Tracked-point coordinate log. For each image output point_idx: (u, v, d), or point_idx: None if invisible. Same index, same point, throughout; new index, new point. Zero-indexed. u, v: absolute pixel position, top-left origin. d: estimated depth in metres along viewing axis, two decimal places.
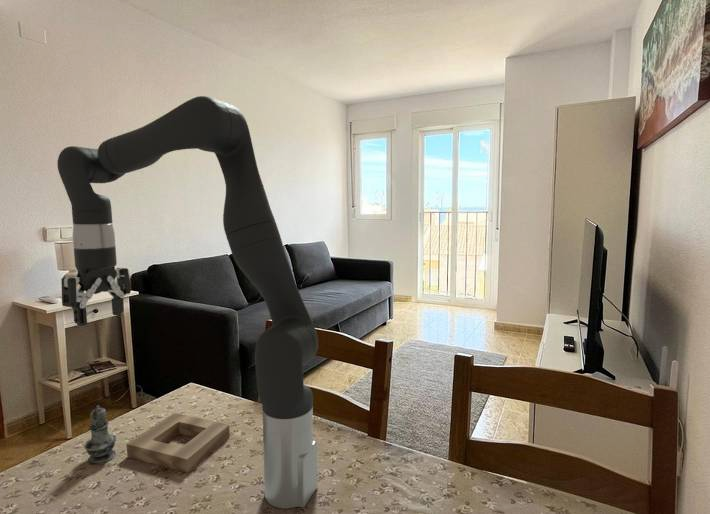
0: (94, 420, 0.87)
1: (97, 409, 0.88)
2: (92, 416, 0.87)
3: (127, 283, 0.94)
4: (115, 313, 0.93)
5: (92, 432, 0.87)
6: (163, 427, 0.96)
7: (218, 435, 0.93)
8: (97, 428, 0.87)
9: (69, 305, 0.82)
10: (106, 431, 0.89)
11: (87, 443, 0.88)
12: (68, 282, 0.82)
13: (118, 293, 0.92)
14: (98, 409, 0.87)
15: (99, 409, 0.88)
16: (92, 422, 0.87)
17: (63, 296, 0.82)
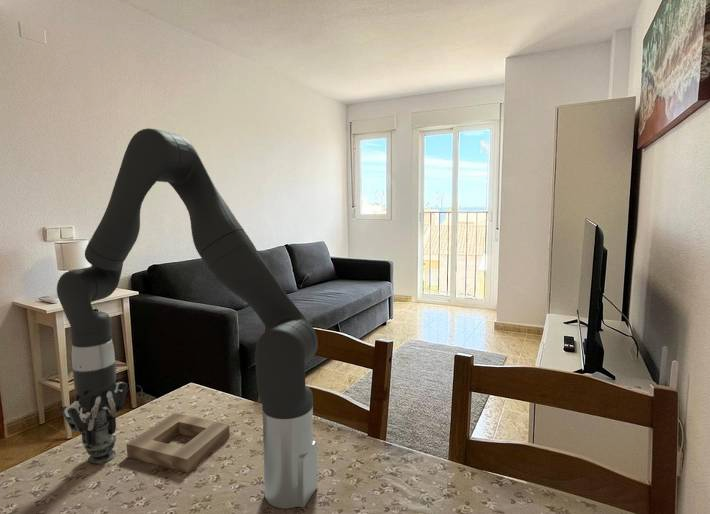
0: None
1: None
2: None
3: (123, 398, 0.92)
4: None
5: None
6: (163, 427, 0.96)
7: (218, 435, 0.93)
8: (97, 428, 0.87)
9: (78, 431, 0.83)
10: (106, 431, 0.89)
11: None
12: (69, 414, 0.81)
13: (110, 413, 0.90)
14: None
15: (99, 409, 0.88)
16: None
17: (69, 423, 0.83)
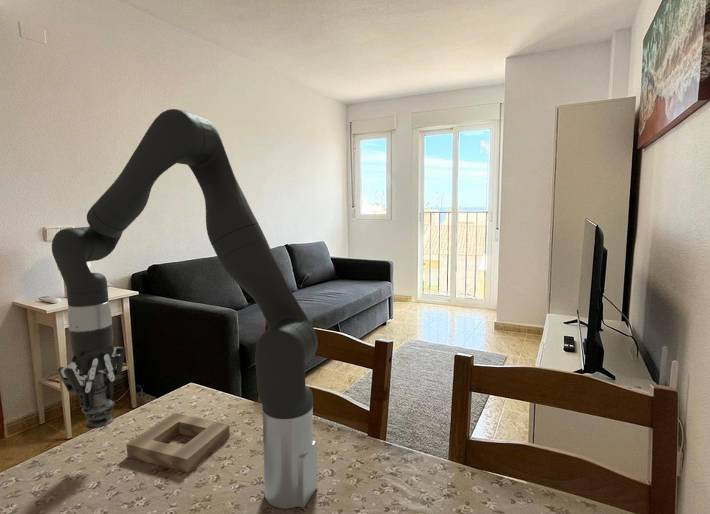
0: None
1: None
2: None
3: (121, 363, 0.91)
4: None
5: None
6: (163, 427, 0.96)
7: (218, 435, 0.93)
8: (95, 391, 0.86)
9: (75, 392, 0.82)
10: (104, 395, 0.87)
11: None
12: (66, 374, 0.80)
13: (108, 377, 0.88)
14: None
15: (96, 372, 0.86)
16: None
17: (66, 385, 0.82)
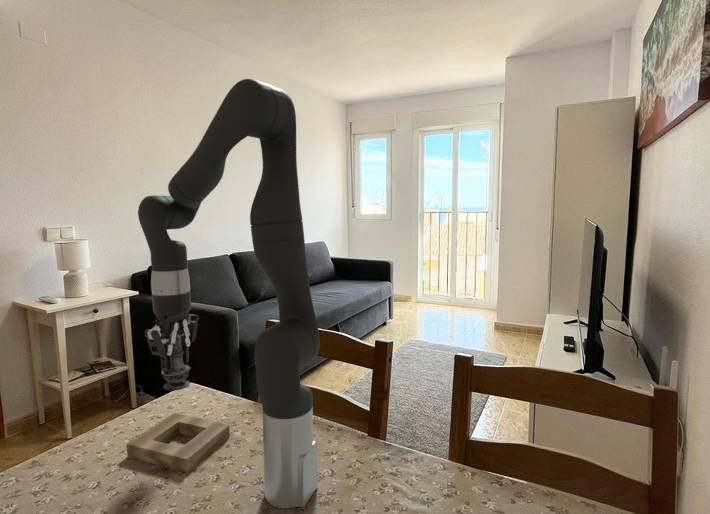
0: None
1: None
2: None
3: (195, 330, 0.94)
4: None
5: None
6: (163, 427, 0.96)
7: (218, 435, 0.93)
8: (175, 354, 0.89)
9: (159, 354, 0.85)
10: (182, 359, 0.91)
11: None
12: (152, 336, 0.83)
13: (185, 342, 0.92)
14: None
15: None
16: None
17: (151, 347, 0.85)
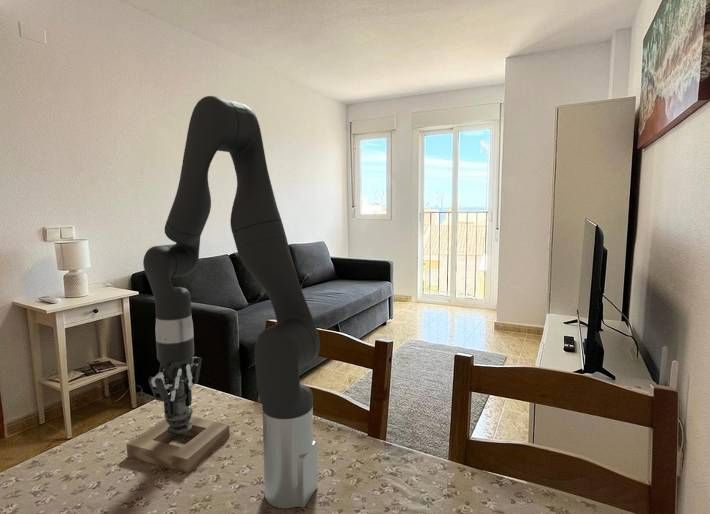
0: None
1: None
2: None
3: (198, 372, 0.96)
4: None
5: None
6: (163, 427, 0.96)
7: (218, 435, 0.93)
8: (178, 399, 0.90)
9: (163, 401, 0.87)
10: (184, 402, 0.92)
11: None
12: (156, 384, 0.85)
13: (188, 385, 0.93)
14: None
15: None
16: None
17: (154, 393, 0.87)
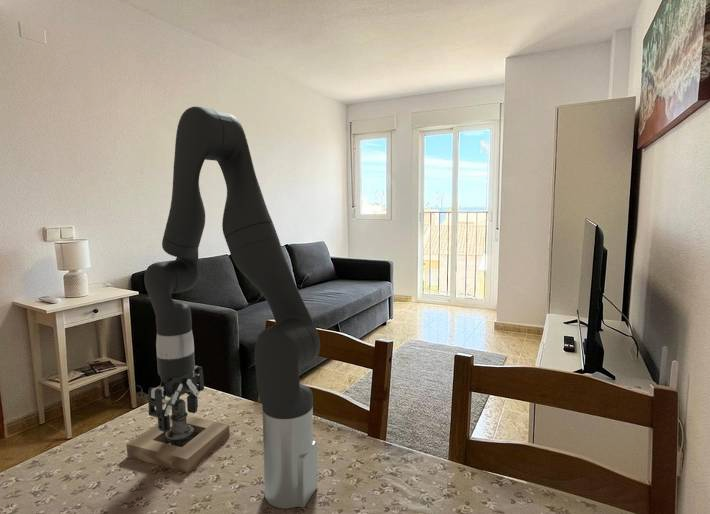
0: (176, 410, 0.91)
1: (178, 400, 0.92)
2: (174, 407, 0.91)
3: (201, 380, 0.97)
4: (190, 410, 0.96)
5: (173, 422, 0.91)
6: None
7: (218, 435, 0.93)
8: (179, 418, 0.91)
9: (156, 416, 0.85)
10: (185, 421, 0.93)
11: (167, 432, 0.92)
12: (155, 394, 0.85)
13: (194, 392, 0.95)
14: (178, 400, 0.92)
15: (179, 400, 0.92)
16: (174, 412, 0.91)
17: (150, 406, 0.86)
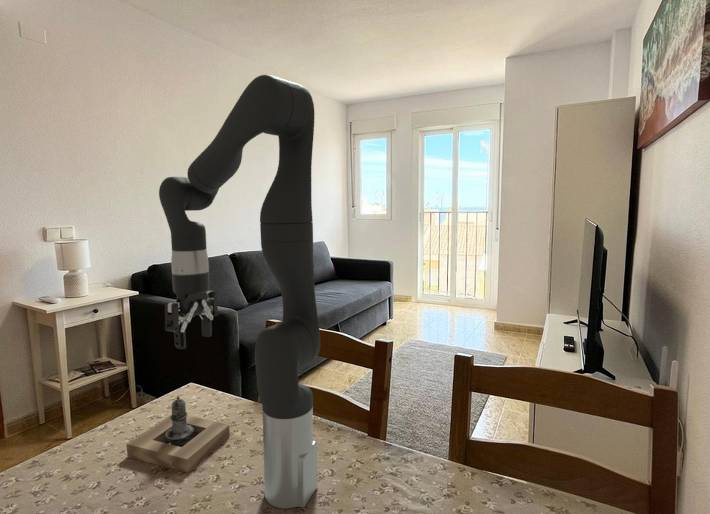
0: (176, 410, 0.91)
1: (178, 400, 0.92)
2: (174, 407, 0.91)
3: (215, 305, 0.97)
4: (205, 335, 0.96)
5: (173, 422, 0.91)
6: (163, 427, 0.96)
7: (218, 435, 0.93)
8: (179, 418, 0.91)
9: (173, 330, 0.85)
10: (185, 421, 0.93)
11: (167, 432, 0.92)
12: (172, 307, 0.85)
13: (209, 315, 0.95)
14: (178, 400, 0.92)
15: (179, 400, 0.92)
16: (174, 412, 0.91)
17: (166, 321, 0.85)
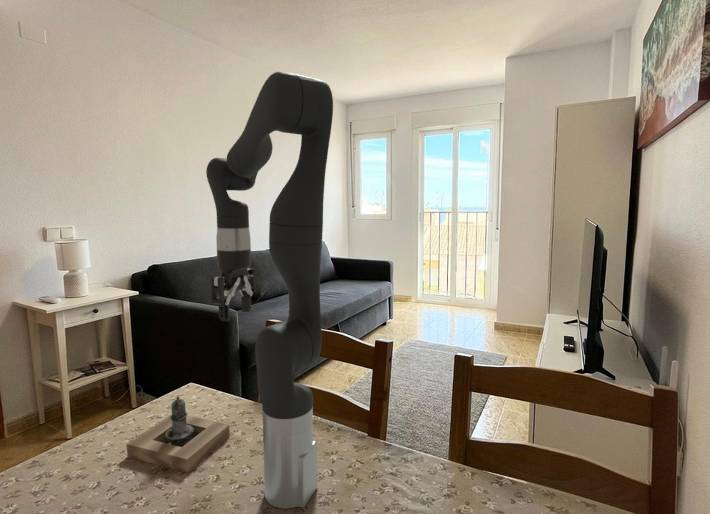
0: (176, 410, 0.91)
1: (178, 400, 0.92)
2: (174, 407, 0.91)
3: (254, 282, 1.02)
4: (244, 310, 1.01)
5: (173, 422, 0.91)
6: (163, 427, 0.96)
7: (218, 435, 0.93)
8: (179, 418, 0.91)
9: (219, 302, 0.90)
10: (185, 421, 0.93)
11: (167, 432, 0.92)
12: (218, 281, 0.90)
13: (249, 291, 1.00)
14: (178, 400, 0.92)
15: (179, 400, 0.92)
16: (173, 412, 0.91)
17: (212, 294, 0.90)
